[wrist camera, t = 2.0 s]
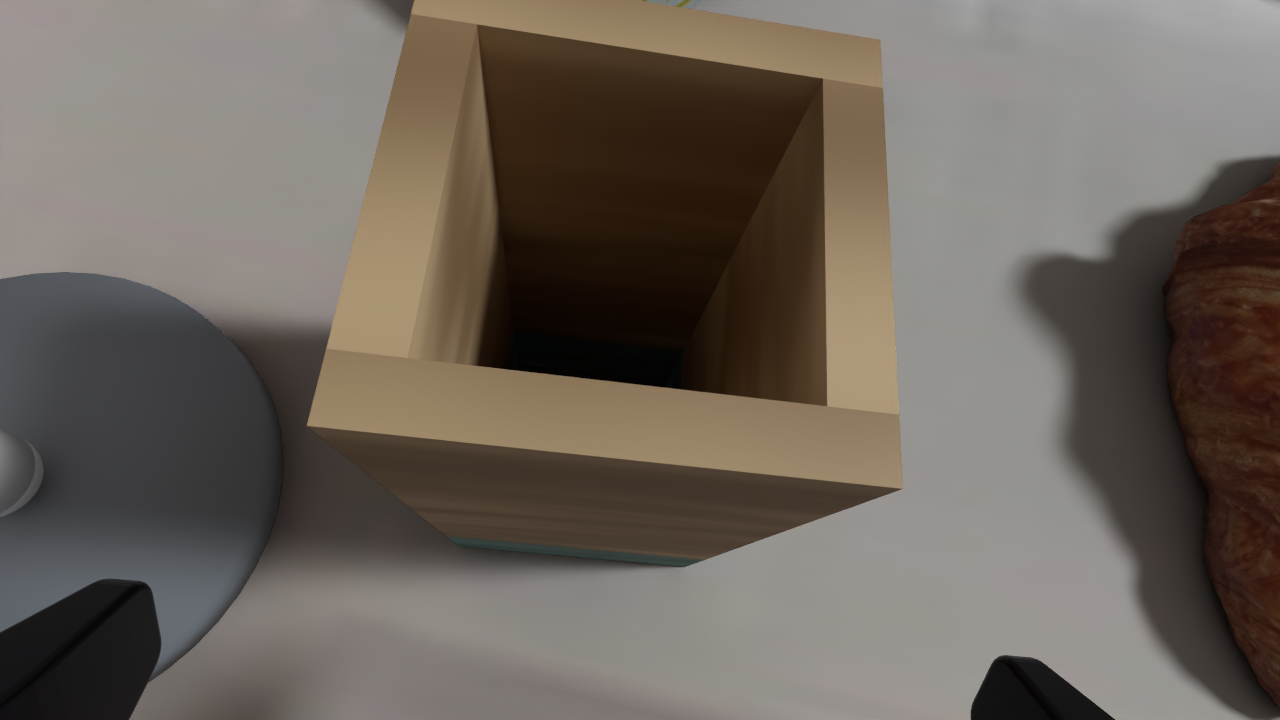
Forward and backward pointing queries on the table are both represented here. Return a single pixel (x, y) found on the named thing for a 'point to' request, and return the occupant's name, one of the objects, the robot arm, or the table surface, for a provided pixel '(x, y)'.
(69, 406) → the pin stand
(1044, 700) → the robot arm
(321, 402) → the banded sleeve
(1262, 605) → the pastry
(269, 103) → the table surface
